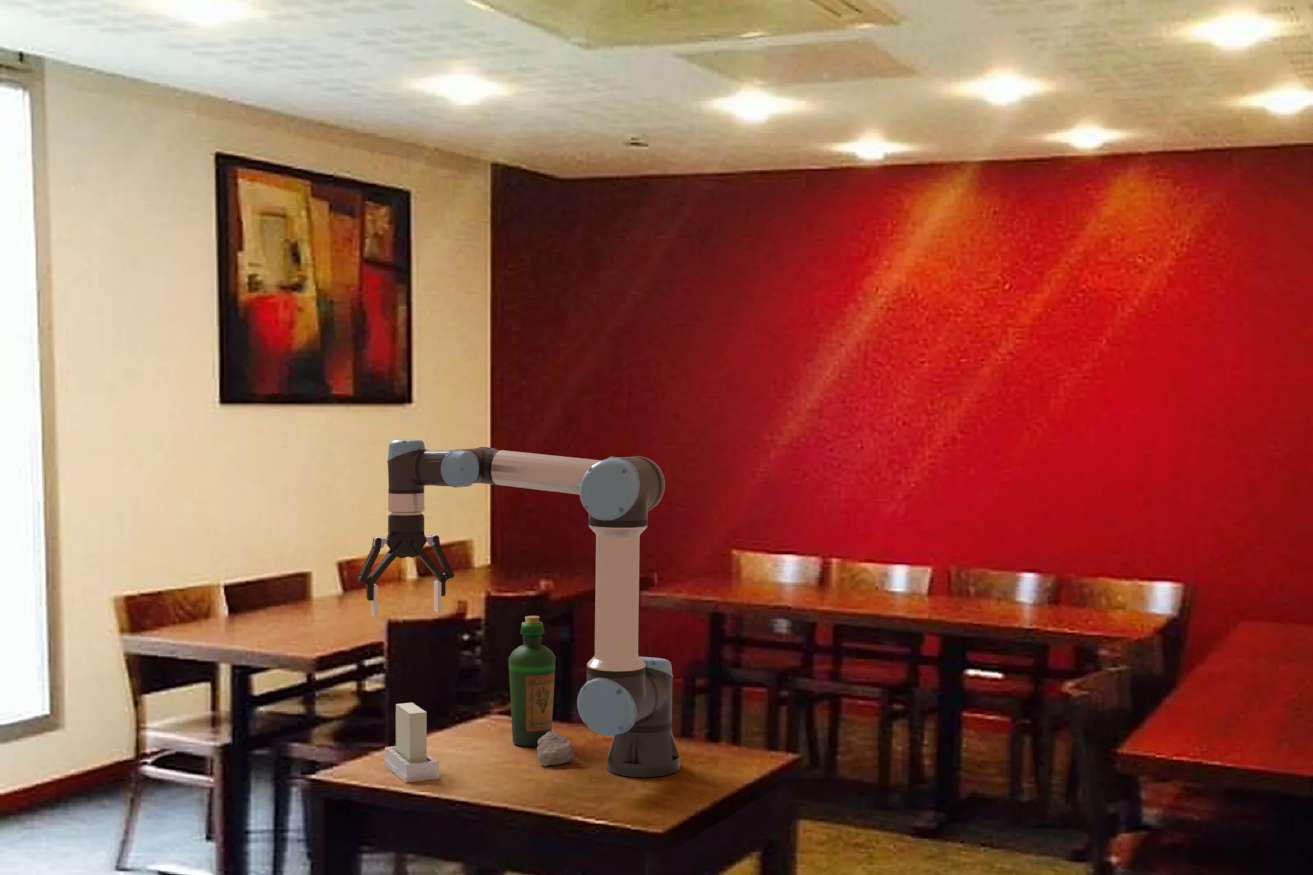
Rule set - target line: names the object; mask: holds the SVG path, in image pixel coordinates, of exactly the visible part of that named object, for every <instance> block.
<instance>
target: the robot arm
mask: <svg viewBox="0 0 1313 875" xmlns="http://www.w3.org/2000/svg"><path fill="white" fill-rule="evenodd" d="M386 464H387V472H388V473H387V475H388V476H387V477H388V478H387V479H388V482H387V484H388V491H387V493H388V494H387V495H388V497H387V500H388V501H387V511H388V512H389V513H390V514H388V515H387V536H386V538H384V537H383V538H382V537H379V536H374V537H373V539H372V542H371V543H372V544H371V549H370V551H369V553H368V554H367V556H366V559H365V561H364V563H363V565H362V568H361V570H360V572H359V573H358V576H357V581H358V582H360V583H362V584H365V586H366V591H365V592H366V594H365V595H366V597H365V598H366V600H367V601H370V616H372V617H374V618H378V617H379V586H378V584H376V583H377V581H378V580H379V579H380V577H381V576H382V574H384V573H385V571H386V570H387V568H388V567H389V566H390V565H391V563H392V562H393V561H395V560H396V558H399V559H405V558H411V559H413V558H416V557H418V558H419V559H420V560H421V561H422V562H423V564H424V565H425V566H426V567H427V569H429V570H430V572H431V573H432V574H433V575H434V576H435V577H436V579H437V580H434V581H433V612H435V613H437V614H441V613H442V597H445V596H446V590H447V589H446V587H447V586H446V583H447V581H448V580H450V579H453V578H454V577H455V572H454V571H453V569H452V567H451V564H450V563H449V560H448V559H447V556H446V555H445V553H444V550H443V548H442V546H441V542H440V536H439V535H437V534H435V533H433V534H431V535H430V536H429V535H428V536H426V535H425V515H424V514H423V513H422V512H424V511H425V486H427V487H428V486H433V487H450V488H451V487H452V488H465V487H471V486H473V484H485V485H492V486H503V487H504V486H505V487H513V488H520V489H521V488H522V489H529V490H536V491H537V490H538V491H545V492H546V491H547V492H553V493H555V492H556V493H563V494H571V495H579V499H580V503H581V505H582V507H583V508H584V509H585V511H586V513H588V528H590V529H591V531H592V532H593V533H594V534H595V591H594V592H595V593H594V594H595V603H594V604H595V605H594V606H595V607H594V608H595V609H594V610H595V611H594V655H593V657H592V658H591V659H589V661H588V662H587V663H586V682H585V683H584V685H583V686H582V687H581V688H580V690H579V692H578V696H577V701H576V705H577V711H578V714H579V717H580V718H581V720H582V722H583V723H584V724H585V725H586V726H587V727H588V728H589V729H590V730H591V731H593V732H594V733H596V734H598V735H602V736H606V737H607V736H609V737H612V736H613V738H612V740H611V744H610V747H609V750H608V754H607V757H606V770H607V771H608V772H610V773H612V774H614V775H618V776H623V777H629V778H630V777H632V778H656V777H663V776H669V775H673V774H675V773H678V771H680V770H681V756H680V753H679V750H678V746H677V744H676V741H675V738H674V733H673V729H672V728H673V725H672V724H673V720H672V719H673V718H672V717H673V679H674V675H673V669H672V662H671V661H669V660H668V659H665V658H660V657H651V656H650V657H648V656H639V613H640V612H639V611H640V610H639V609H640V608H639V606H640V604H639V602H640V601H639V600H640V542H641V541H640V539H641V538H640V536H641V534H643V532H644V531H645V530H646V529H648V523H649V522H648V518H649V516H648V513H649V511H651V510H653V509H654V508H655V507H656V506H657V505H659V503H660V502H661V501H662V500H663V499H662V498H663V497H664V494H665V489H666V480H665V476H664V474H663V471H662V469H661V467H660V466H659V465H658V464H657V463H656V462H655V461H653V460H652V459H650V458H648V457H645V456H641V455H639V456H638V455H632V456H625V457H624V456H623V457H621V456H619V457H618V456H610V457H607V458H605V459H603V460H599V459H591V458H584V457H583V458H582V457H571V456H562V455H553V454H551V455H550V454H543V453H533V452H532V453H531V452H524V451H523V452H522V451H515V450H514V451H513V450H512V451H511V450H504V449H502V450H501V449H500V450H499V449H496V448H494V447H493V448H492V447H489V446H487V447H486V446H480V447H475V448H473V447H472V448H459V449H458V448H457V449H426V447H425V442H424V441H423V439H422V440H421V439H393V440H391V441H390V442H389V443H388V456H387V463H386ZM426 543H427V544H428V545H429V546H430V547H431V548H432V551H433V553H434V554H435V557H436V558H437V560H438V562H439V565H440V566H441V569H442V571H443V572H444V573H443V572H442V571H441V570H440V569H439V567H438V566H437V564H435V563H434V561H433V560H432V558H430V556H428V554H427V553H426V551H425V550H424V549H423V548H424V547H425V545H426ZM385 545H387V547H388V548H389V550H388V551H387V552H386V553H385V555H384V557H383V558H382V559H381V560H380V562H379V563H378V565H377V566H376V567H375V568H374V569H373V571H371V570H372V568H373V567H374V564H375V562H376V561H377V558H378V556H379V555H380V552H381V549H383V548H384V546H385Z"/></svg>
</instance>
